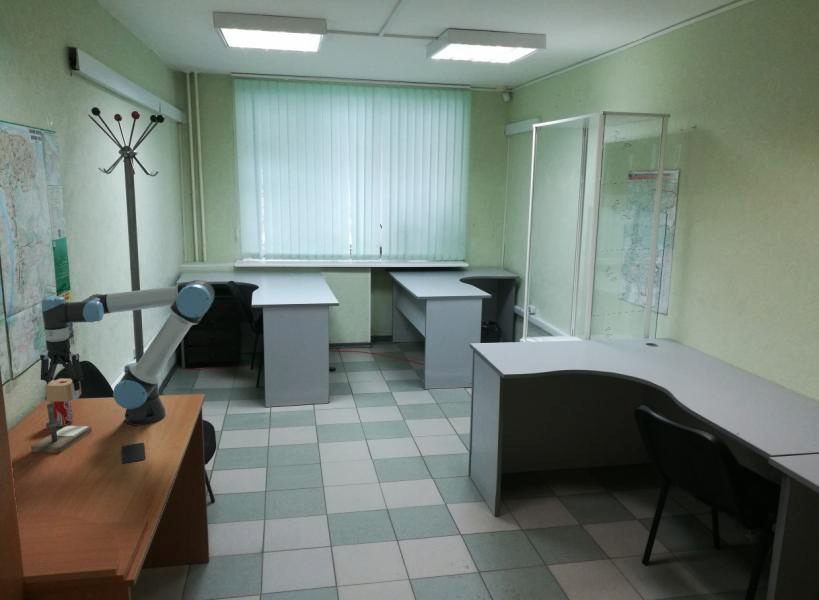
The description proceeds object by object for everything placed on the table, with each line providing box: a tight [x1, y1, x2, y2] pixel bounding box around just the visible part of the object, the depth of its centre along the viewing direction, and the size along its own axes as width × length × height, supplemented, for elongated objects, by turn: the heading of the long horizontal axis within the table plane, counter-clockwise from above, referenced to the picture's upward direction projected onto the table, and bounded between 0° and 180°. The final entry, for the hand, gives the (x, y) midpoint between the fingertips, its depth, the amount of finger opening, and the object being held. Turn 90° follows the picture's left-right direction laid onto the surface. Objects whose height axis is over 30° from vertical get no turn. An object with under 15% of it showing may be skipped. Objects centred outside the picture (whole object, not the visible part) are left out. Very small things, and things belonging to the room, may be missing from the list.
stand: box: [30, 403, 93, 454], centre depth 218 cm, size 11×18×16 cm, turn 175°
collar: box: [44, 377, 82, 402], centre depth 221 cm, size 8×8×6 cm
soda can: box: [49, 400, 74, 427], centre depth 235 cm, size 7×7×12 cm
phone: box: [121, 442, 147, 465], centre depth 209 cm, size 7×1×15 cm
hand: (64, 398), depth 221 cm, fingers closed on collar, 8 cm apart
